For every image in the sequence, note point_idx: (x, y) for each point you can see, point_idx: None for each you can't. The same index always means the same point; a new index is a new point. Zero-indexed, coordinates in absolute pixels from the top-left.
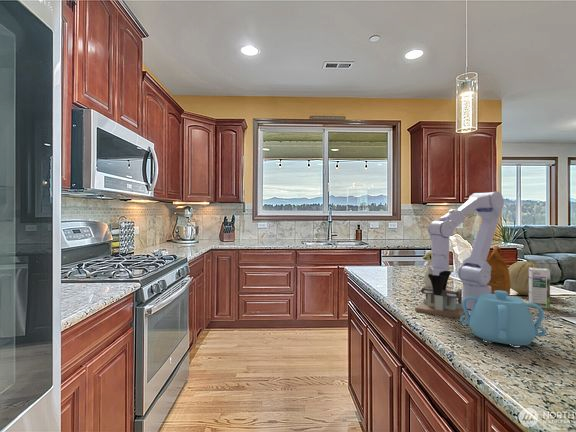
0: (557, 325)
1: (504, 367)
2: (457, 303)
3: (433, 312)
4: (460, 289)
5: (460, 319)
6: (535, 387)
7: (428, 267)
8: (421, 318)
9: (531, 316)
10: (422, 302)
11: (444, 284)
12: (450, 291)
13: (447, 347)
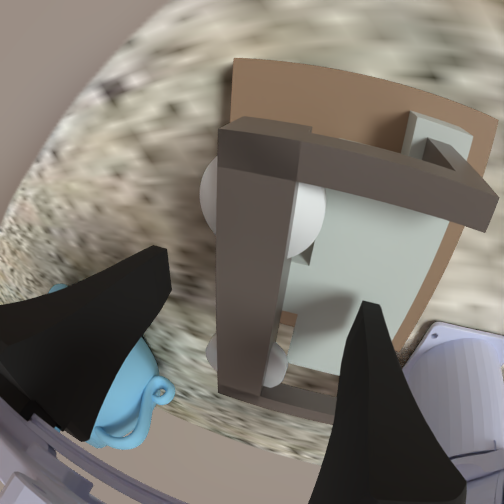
0: (309, 454)
1: (19, 291)
2: None
3: None
4: None
5: (53, 286)
6: None
7: (11, 480)
8: (123, 123)
9: None
10: (436, 104)
11: (343, 392)
12: (237, 369)
13: (5, 222)
